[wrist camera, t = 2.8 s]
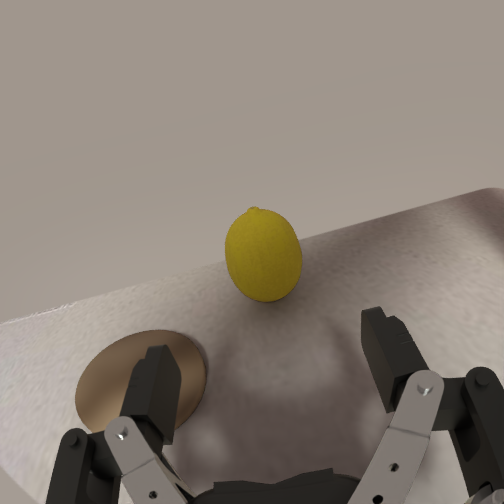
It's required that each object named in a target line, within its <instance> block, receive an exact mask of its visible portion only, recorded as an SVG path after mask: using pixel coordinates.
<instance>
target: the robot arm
mask: <svg viewBox="0 0 504 504" xmlns="http://www.w3.org/2000/svg"><path fill="white" fill-rule="evenodd" d="M361 343H362V348H363V351H364V354H365V356H366V359H367V362H368V364H369V367H370V369H371V372H372V375H373V377H374V380H375V383H376V385H377V388H378V391H379V393H380V396H381V399H382V402H383V404H384V407H385V410H386V413H390V412H394V411H395V414H394V416H393V419H392V421H391V423H390V425H389V426H388V428H387V429H386V431H385V433H384V436H383V438H382V440H381V442H380V444H379V446H378V448H377V450H376V452H375V454H374V456H373V458H372V460H371V462H370V464H369V466H368V468H367V470H366V472H365V474H364V475H363V477H362V479H359V478H356V477H353V476H349V475H342V474H333V469H332V468H329V469H324V470H319V471H314V472H308V473H303V474H300V475H297V476H295V477H292V478H290V479H287V480H284V481H281V482H279V483H276V484H263V483H255V482H248V481H227V482H214V489H211V490H208V491H205V492H203V493H201V494H199V495H198V496H196V495H195V494H194V492H193V491H192V490H191V489H190V488H189V487H188V486H187V485H186V484H185V483H184V481H183V480H182V479H181V477H180V476H179V475H178V473H177V472H176V471H175V469H174V468H173V466H172V465H171V464H170V462H169V461H168V459H167V458H166V456H165V455H164V454H163V452H162V448H163V445H172V443H173V436H174V429H175V422H176V415H177V408H178V401H179V395H180V388H181V382H182V376H181V371H180V368H179V366H178V364H177V362H176V360H175V358H174V357H173V355H172V353H171V351H170V349H169V347H168V346H167V345H166V344H164V345H156V346H149V347H148V349H147V352H146V355H145V359H140V360H139V361H138V362H137V364H136V365H135V366H134V368H133V370H132V373H131V376H130V380H129V383H128V388H127V390H126V393H125V397H124V400H123V404H122V407H121V411H120V415H119V417H117V418H115V419H113V420H111V421H110V422H109V423H108V425H107V426H106V428H105V430H103V431H99V432H96V433H92V434H87V433H86V432H85V431H84V430H82V429H80V428H74V429H71V430H69V431H67V432H66V433H65V434H64V436H63V437H62V439H61V442H60V446H59V450H58V453H57V457H56V461H55V465H54V469H53V473H52V477H51V481H50V486H49V490H48V495H47V499H46V504H118V499H119V491H120V483H121V480H122V483H123V485H124V486H125V488H126V490H127V492H128V494H129V495H130V497H131V499H132V501H133V502H134V504H403V502H404V500H405V498H406V496H407V494H408V492H409V490H410V487H411V485H412V483H413V481H414V478H415V476H416V474H417V471H418V469H419V466H420V464H421V461H422V459H423V456H424V454H425V451H426V448H427V445H428V443H429V439H430V437H429V436H430V433H431V431H441V430H448V431H449V434H450V437H451V439H452V442H453V445H454V448H455V451H456V454H457V457H458V460H459V464H460V467H461V470H462V473H463V477H464V480H465V483H466V487H467V490H468V494H469V499H468V500H467V501H466V502H465V503H464V504H504V389H503V387H502V385H501V383H500V381H499V379H498V378H497V376H496V374H495V373H494V372H493V371H492V370H491V369H489V368H486V367H475V368H473V369H471V370H470V371H469V372H468V373H467V375H466V377H462V378H442V377H441V376H440V375H439V374H437V373H436V372H434V371H431V370H430V369H429V368H428V366H427V364H426V362H425V361H424V359H423V357H422V355H421V353H420V351H419V349H418V348H417V346H416V344H415V342H414V341H413V339H412V337H411V335H410V334H409V331H408V330H407V328H406V326H405V324H404V323H403V322H402V321H401V320H399V319H398V318H397V317H395V316H390V317H386V316H385V314H384V312H383V310H382V308H381V307H380V306H378V307H374V308H370V309H366V310H362V313H361ZM121 475H123V476H121Z"/></svg>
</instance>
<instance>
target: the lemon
mask: <svg viewBox="0 0 504 504" xmlns="http://www.w3.org/2000/svg"><path fill="white" fill-rule="evenodd" d="M225 256H226V263H227V267H228V271H229V274H230V276H231V279H232V280H233V282H234V284H235V285H236V286H237V288H238V289H239V290H240V291H241V292H242V293H243V294H244V295H246V296H248V297H249V298H251V299H254V300H257V301H263V302H268V301H276V300H278V299H280V298H283V297H284V296H286V295H287V294H288V293H289V292H290V291H291V290H292V289H293V288H294V287H295V285H296V284H297V282H298V280H299V278H300V274H301V268H302V253H301V248H300V245H299V242H298V239H297V236H296V234H295V232H294V230H293V228H292V226H291V225H290V224H289V222H288V221H287V220H286V219H285V218H284V217H282V216H281V215H279V214H277V213H275V212H273V211H270V210H265V209H259V208H258V207H251V208H249V209H248V210H247V212H246V213H244V214H242V215H241V216H240V217H239V218H237V219H236V220H235V221H234V223H233V224H232V225H231V227H230V229H229V231H228V233H227V237H226V241H225Z"/></svg>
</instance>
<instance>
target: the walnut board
mask: <svg viewBox="0 0 504 504" xmlns="http://www.w3.org/2000/svg"><path fill="white" fill-rule="evenodd" d="M164 344H166V345H167V346H168V347H169V349H170V351H171V353H172V355H173V357H174V358H175V360H176V362H177V364H178V366H179V368H180V371H181V376H182V382H181V388H180V395H179V401H178V408H177V415H176V422H175V429H177V428H178V427H179V426H180V425H181V424H183V423H184V422H185V421H186V420H187V419H188V417H189V416H190V415H191V414H192V413H193V411H194V410H195V408H196V407H197V405H198V404H199V402H200V400H201V398H202V395H203V392H204V389H205V385H206V367H205V364H204V361H203V359H202V357H201V355H200V353H199V351H198V349H197V347H196V346H195V345H194V343H193V342H192V341H190V340H189V339H188V338H186V337H185V336H183V335H181V334H179V333H176V332H172V331H166V330H149V331H143V332H139V333H135V334H132V335H129V336H127V337H124V338H122V339H120V340H118V341H116V342H114V343H113V344H111V345H109V346H108V347H107V348H105V349H104V350H102V351H101V352H100V353H99V354H98V355H97V356H96V357H95V358H94V359H93V360H92V361H91V362H90V363H89V365H88V366H87V367H86V369H85V370H84V372H83V374H82V376H81V377H80V380H79V382H78V385H77V389H76V395H75V404H76V409H77V413H78V415H79V417H80V419H81V421H82V422H83V423H84V424H85V426H86V427H87V428H88V429H89V430H90V431H91V432H92V433H96V432H99V431H103V430H105V428H106V426H107V425H108V423H109V422H110V421H111V420H113V419H115V418H117V417H119V415H120V411H121V407H122V404H123V400H124V397H125V393H126V390H127V388H128V383H129V380H130V376H131V373H132V370H133V368H134V366H135V365H136V364H137V362H138V361H139V360H140V359H145V355H146V352H147V349H148V347H149V346H156V345H164ZM175 429H174V430H175Z"/></svg>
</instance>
